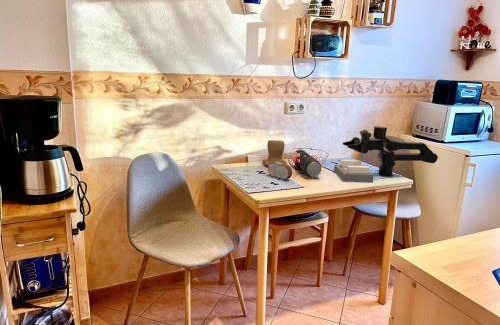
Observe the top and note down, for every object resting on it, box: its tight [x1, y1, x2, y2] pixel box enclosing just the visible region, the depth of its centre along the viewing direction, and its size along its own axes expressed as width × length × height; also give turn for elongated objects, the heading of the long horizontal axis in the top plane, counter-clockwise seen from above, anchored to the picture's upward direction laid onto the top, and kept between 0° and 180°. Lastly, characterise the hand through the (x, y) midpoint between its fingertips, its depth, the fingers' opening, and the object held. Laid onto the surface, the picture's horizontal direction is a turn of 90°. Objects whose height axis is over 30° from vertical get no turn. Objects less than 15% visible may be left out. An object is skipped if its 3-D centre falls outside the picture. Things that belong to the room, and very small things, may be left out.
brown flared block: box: [262, 139, 287, 166], centre depth 225 cm, size 15×12×15 cm
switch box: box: [333, 164, 375, 183], centre depth 208 cm, size 16×19×4 cm
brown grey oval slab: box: [267, 161, 293, 181], centre depth 199 cm, size 15×3×8 cm, turn 47°
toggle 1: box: [339, 159, 362, 167], centre depth 212 cm, size 11×3×3 cm, turn 93°
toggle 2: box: [347, 165, 370, 173], centre depth 200 cm, size 11×3×3 cm, turn 93°
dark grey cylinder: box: [294, 149, 322, 178], centre depth 212 cm, size 10×28×10 cm, turn 8°
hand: (345, 144), depth 210 cm, fingers open, 9 cm apart
